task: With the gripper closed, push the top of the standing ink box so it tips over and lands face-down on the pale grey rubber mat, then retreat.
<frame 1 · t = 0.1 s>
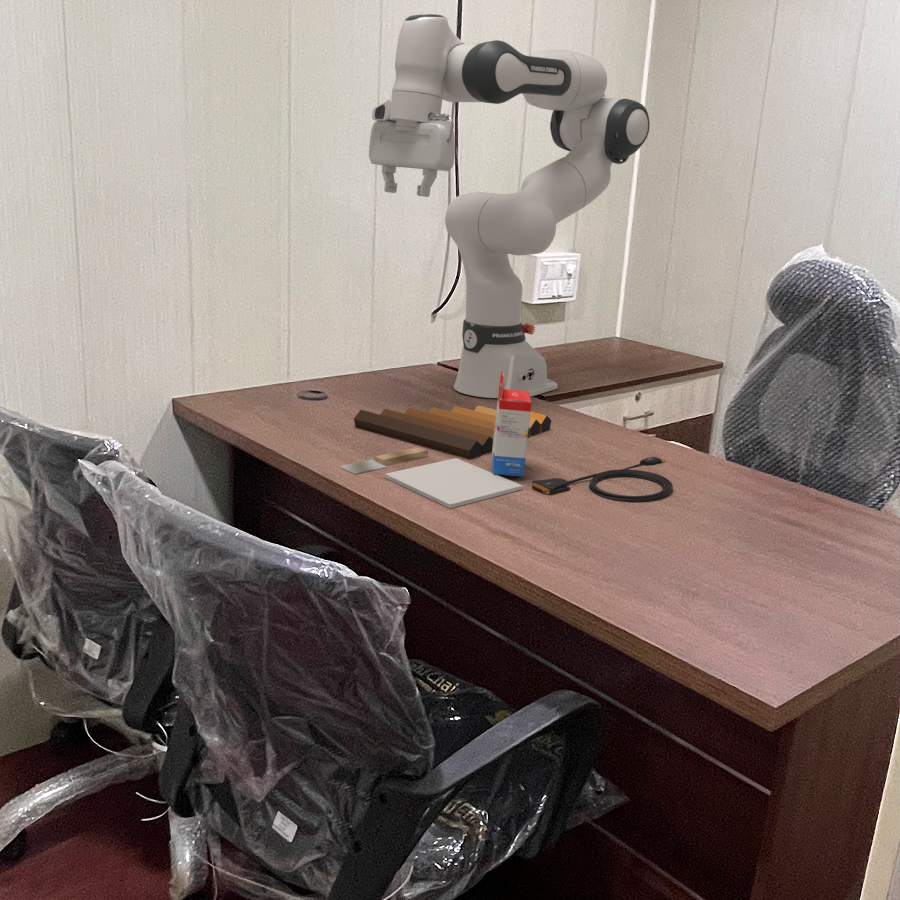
hand: (406, 194, 170), 39 cm above the table, fingers open, 8 cm apart
turner: (386, 463, 150), on the table
mat: (453, 483, 142), on the table
pan flute: (453, 431, 170), on the table
cable: (627, 489, 145), on the table
ink box: (506, 469, 148), on the table, touching mat
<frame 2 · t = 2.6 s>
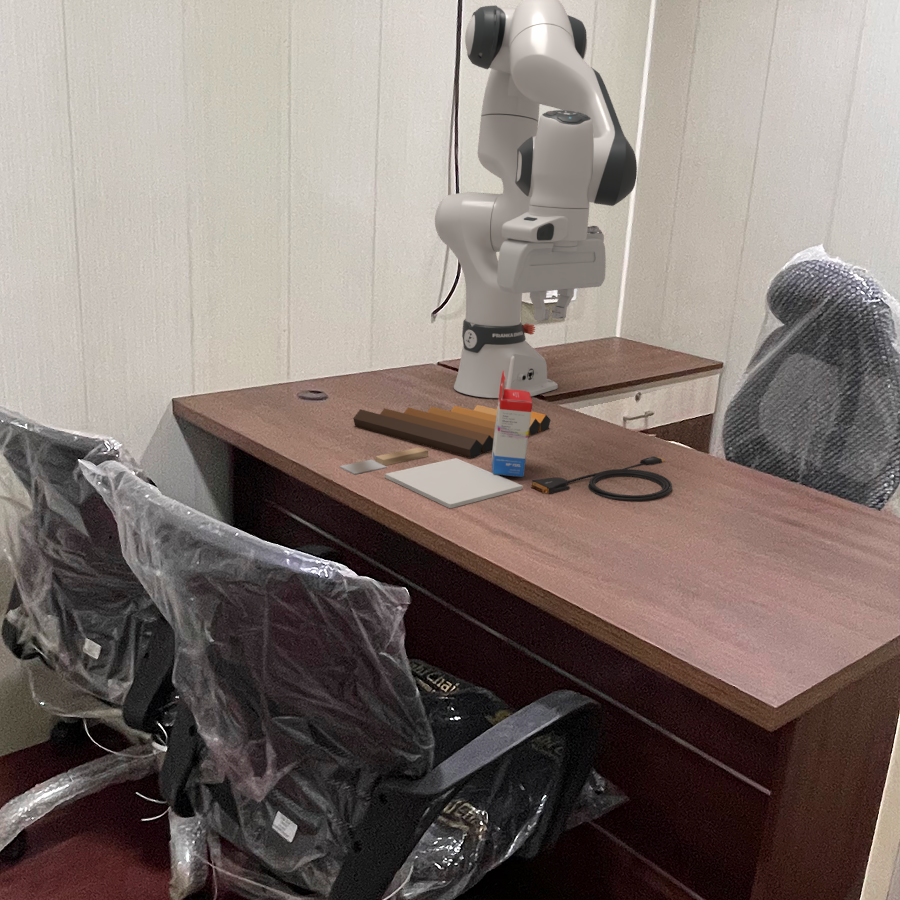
hand: (549, 319, 146), 23 cm above the table, fingers closed
nothing on the table moved.
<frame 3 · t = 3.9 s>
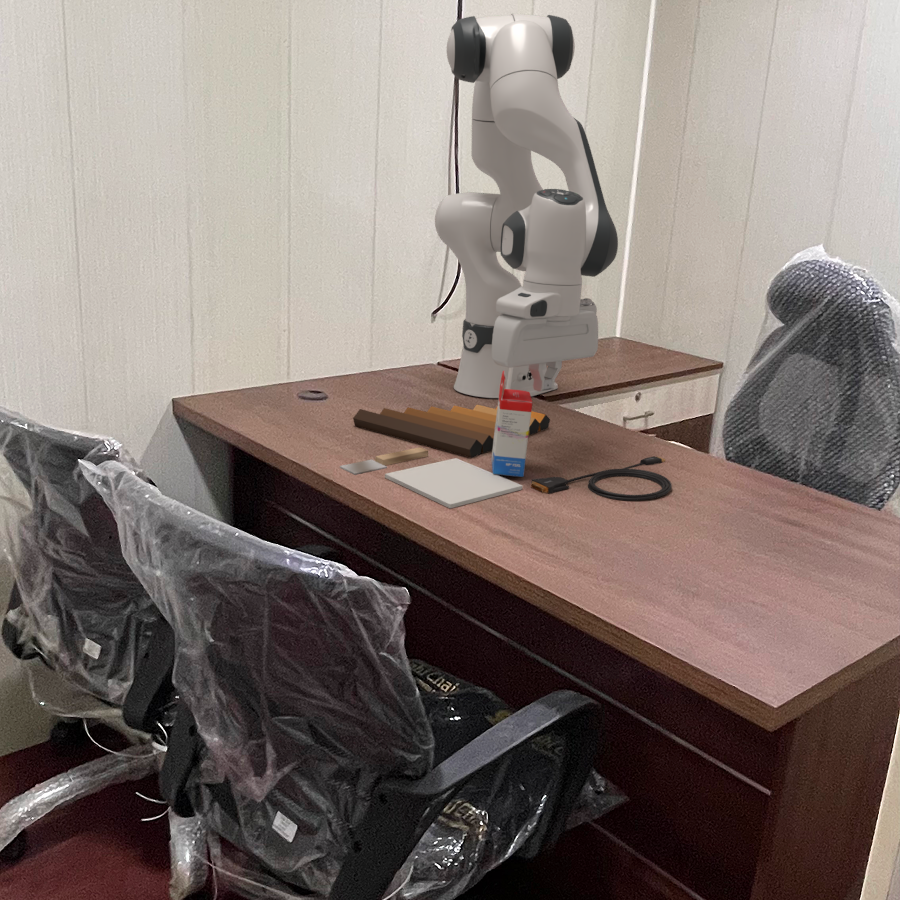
hand: (543, 389, 149), 12 cm above the table, fingers closed
nothing on the table moved.
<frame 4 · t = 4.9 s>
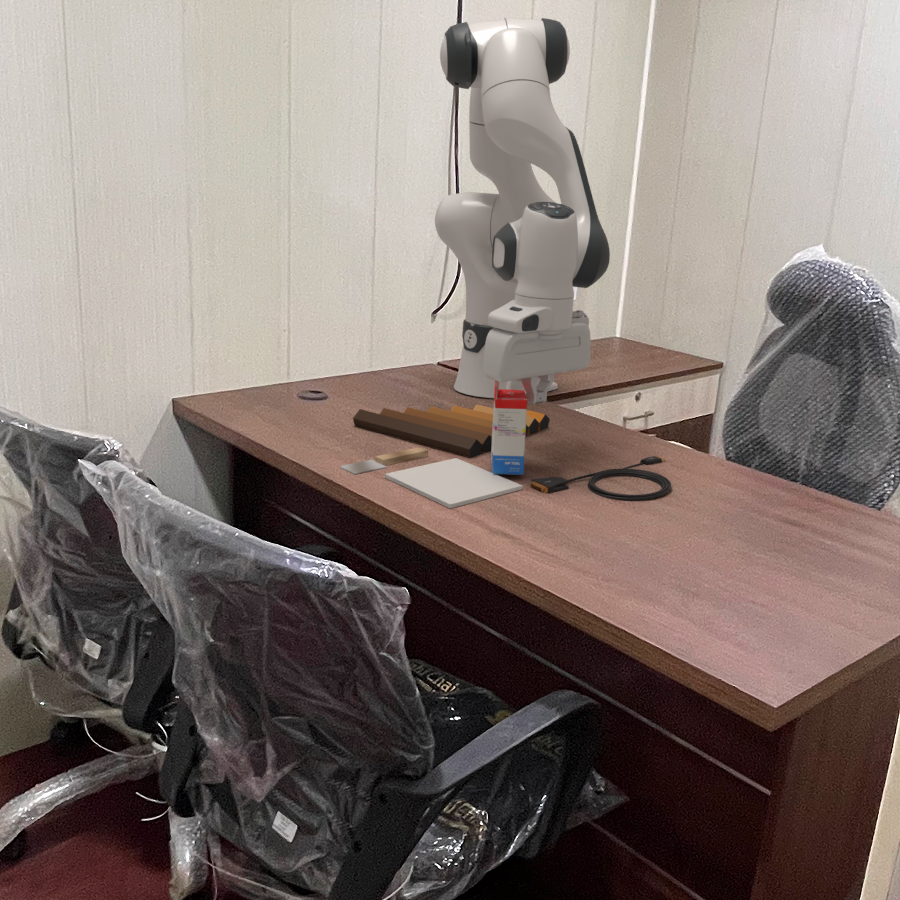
hand: (535, 402, 149), 10 cm above the table, fingers closed
ink box: (506, 469, 148), on the table, touching gripper, mat
everything else where it was.
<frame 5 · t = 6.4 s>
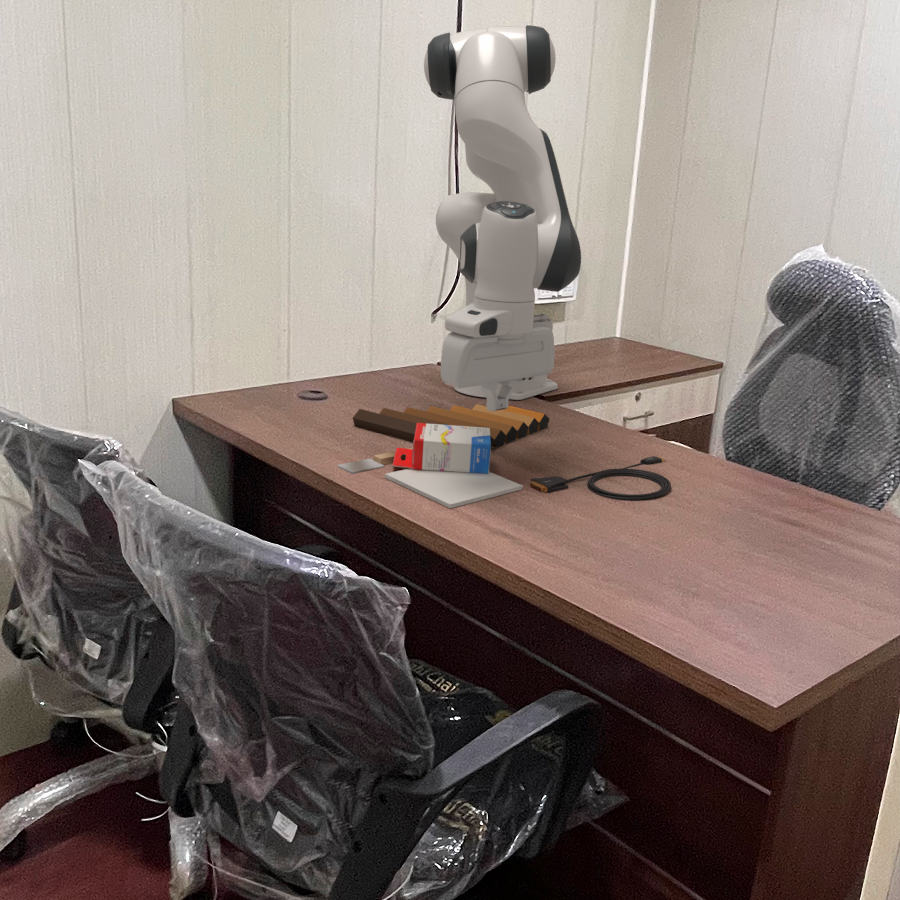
hand: (497, 409, 143), 10 cm above the table, fingers closed
ink box: (490, 450, 148), point 3 cm above the table, touching mat
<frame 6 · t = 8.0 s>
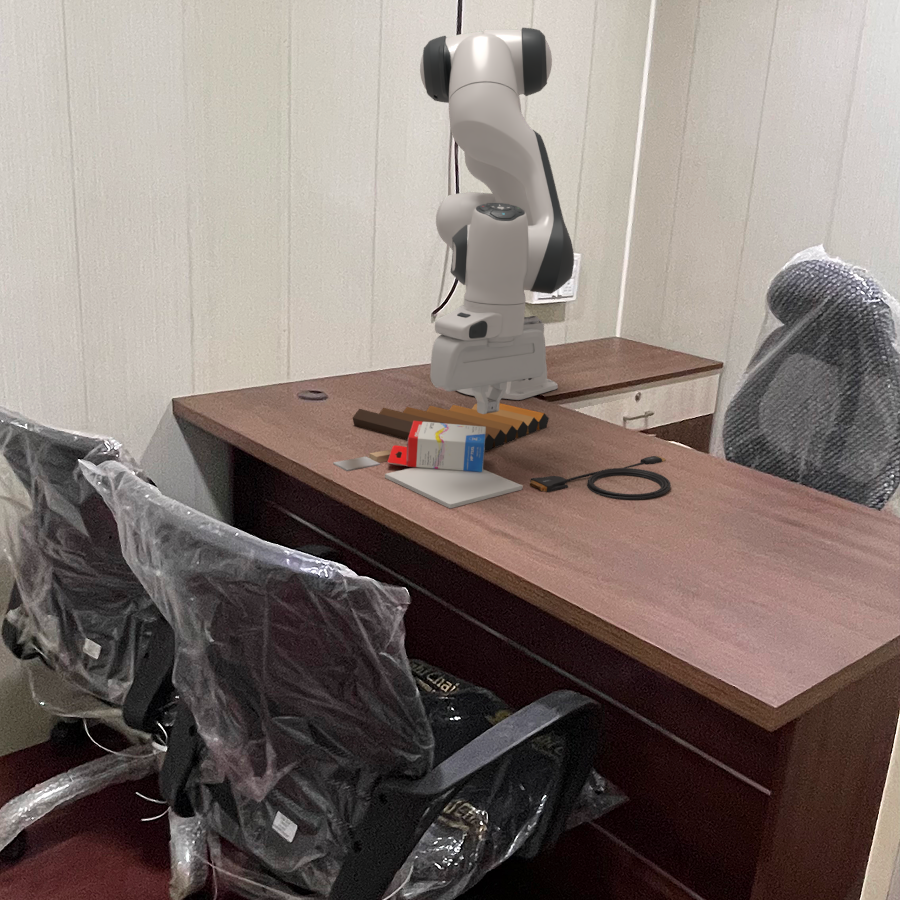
hand: (487, 412, 143), 10 cm above the table, fingers closed
turner: (380, 460, 151), on the table
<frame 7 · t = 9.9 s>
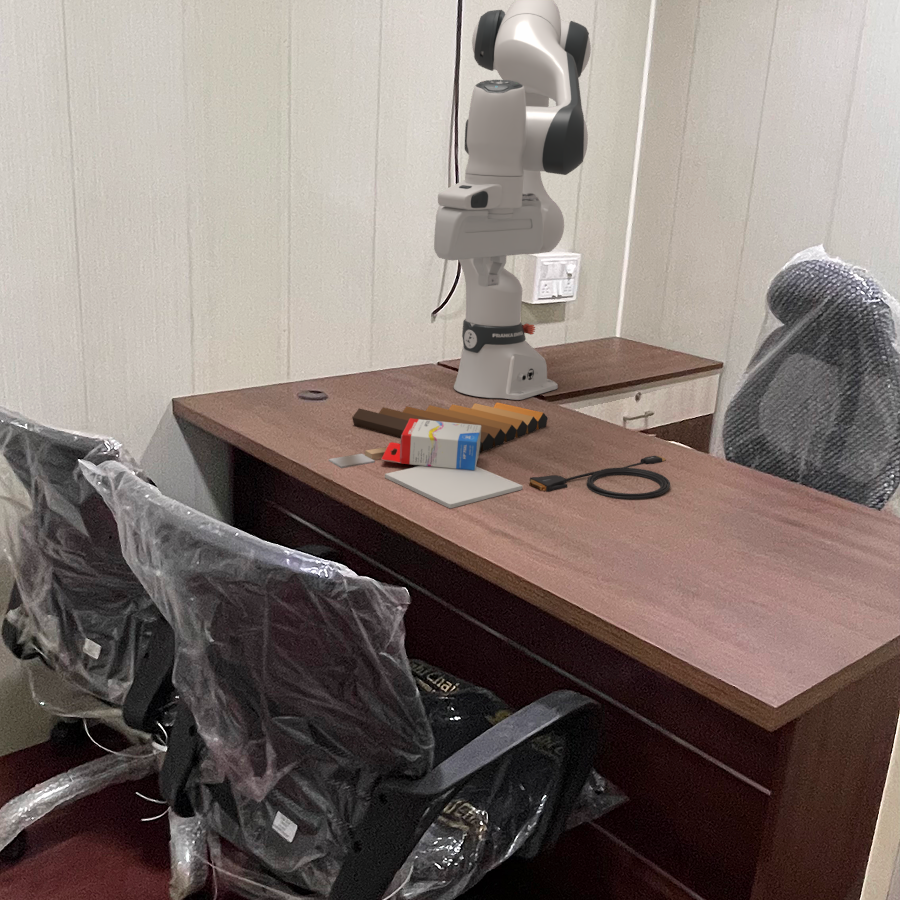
hand: (488, 285, 150), 27 cm above the table, fingers closed
turner: (376, 458, 152), on the table
ink box: (480, 447, 149), point 3 cm above the table
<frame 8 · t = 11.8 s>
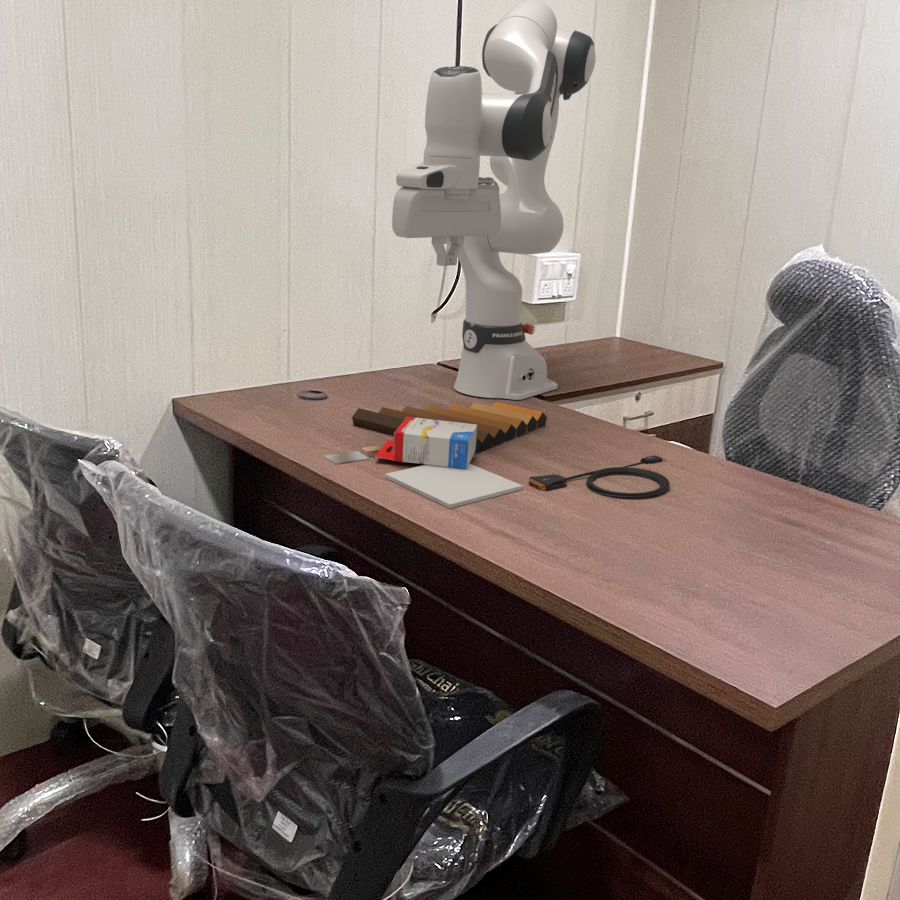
hand: (446, 265, 155), 29 cm above the table, fingers closed
turner: (371, 455, 153), on the table, touching ink box
ink box: (473, 446, 149), point 3 cm above the table, touching mat, turner
at the end: ink box tilted 89°; ink box inside the target area (7.8 cm from its centre), point 3.0 cm above the table; the gripper is holding nothing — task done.
